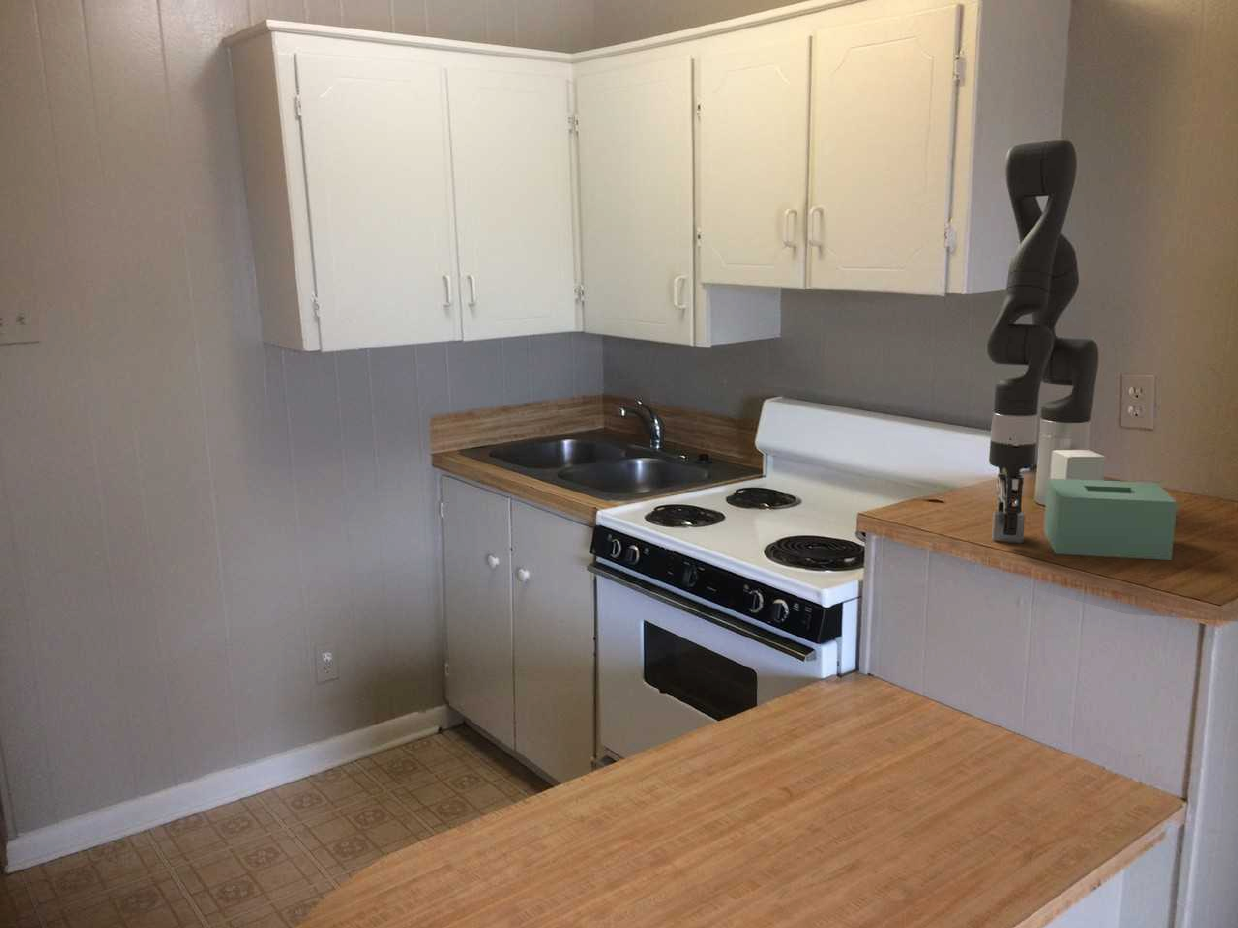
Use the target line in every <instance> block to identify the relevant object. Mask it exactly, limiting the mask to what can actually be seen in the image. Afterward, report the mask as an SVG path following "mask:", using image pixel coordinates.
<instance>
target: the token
mask: <svg viewBox="0 0 1238 928" xmlns="http://www.w3.org/2000/svg"><path fill="white" fill-rule="evenodd" d="M1025 520H1026V515H1025V513H1024V512H1023V511H1021V513H1019V514H1018V521H1017V533H1016V535H1004V533H1003V521H1004V512H1003V511H998V510H993V519H992V527H991V528H992V530H991V539H992V541H993V542H997V541H1000V542H1001V543H1015V542H1016V543H1017V544H1020V543H1021V544H1024V535H1025ZM1000 542H999V543H1000Z"/></svg>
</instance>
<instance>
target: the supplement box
mask: <svg viewBox="0 0 1238 928" xmlns="http://www.w3.org/2000/svg"><path fill="white" fill-rule="evenodd" d="M1105 462H1106V456H1105V455H1101V454H1098V453H1096V452H1094V451H1092V450H1090V449H1088V450H1055V451H1052V462H1051V477H1050V479H1073V480H1098V481H1104V476H1105V475H1104V474H1105V465H1106V463H1105Z"/></svg>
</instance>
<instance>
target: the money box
mask: <svg viewBox="0 0 1238 928" xmlns="http://www.w3.org/2000/svg"><path fill="white" fill-rule="evenodd" d="M1044 506H1045V505H1044ZM1177 511H1178V501H1177V500H1176V499H1175V498H1174V496H1172V495H1171V494H1170V493H1168V492H1167V490H1165V489H1164V488H1162V487H1161V485H1160V484H1158V483H1157V482H1147V481H1143V482H1141V481H1121V480H1120V481H1119V480H1103V481H1098V480H1073V479H1048V480H1047V493H1046V506H1045V509H1044V518H1043V519H1044V520H1043V521H1044V522H1043V533H1044V535H1045V537H1046V539H1047V540H1048V543H1049V542H1050V543H1049V545H1050V546H1051V548H1052V550H1053V551H1054V553H1055V554H1059V555H1060V554H1061V555H1072V556H1073V555H1075V556H1077V555H1079V556H1091V557H1092V556H1093V557H1109V558H1113V557H1114V558H1128V559H1129V558H1130V559H1143V560H1144V559H1145V560H1146V559H1147V560H1148V559H1149V560H1160V561H1161V560H1163V561H1164V560H1165V561H1169V560H1170V561H1172V559H1173V549H1174V548H1173V547H1174V541H1175V530H1176V522H1177V521H1176V519H1177Z"/></svg>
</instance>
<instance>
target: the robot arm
mask: <svg viewBox="0 0 1238 928" xmlns="http://www.w3.org/2000/svg"><path fill="white" fill-rule="evenodd" d="M1077 162H1078V161H1077V154H1076V149H1075V146H1074V144H1073V143H1072V141H1069V140H1067V139H1056V140H1046V141H1037V142H1028V143H1027V142H1026V143H1020V144H1016V145H1013V146H1011V148H1009V150H1008V151H1007V153H1006V156H1005V161H1004V175H1005V176H1004V177H1005V182H1006V186H1007V192H1008V196H1009V200H1010V204H1011V208H1012V211H1013V215H1014V220H1015V223H1016V228H1017V231H1018V233H1017V234H1018V237H1019V246H1018V247H1017V248H1016V250H1015V252H1014V253H1013V256H1012V257H1011V259H1010V263H1009V266H1008V272H1007V279H1006V286H1005V293H1004V298H1003V303H1002V306H1001V308H1000V312H999V314H998V315H997V319H996V321H995V322H994V324H993V326H992V328H991V331H990V334H989V337H988V339H987V343H986V350H987V355H988V357H989V359H990V360H991V361H992V362H993V363H995V364H996V365H997V364H998V365H1008V366H1009V365H1014V366H1028V367H1027V370H1026V372H1025V373H1024V374H1023V375H1020V376H1015V377H1014V376H1013V377H1007V378H1002V379H1001V380H999V381H997V383H996V385H995V390H994V391H995V392H994V393H995V394H994V406H993V407H994V408H993V415H992V422H991V427H990V429H991V430H990V442H989V443H990V444H989V456H988V457H989V458H988V462H989V464H990V465H992V466H994V467H997V468H998V469H999V472H998V474H997V477H996V478H997V486H996V494H997V500H998V510H997V511H1003V512H1004V521H1003V533H1004V535H1016V533H1017V521H1018V514H1019V513H1021V512H1023V511H1022V501H1023V487H1024V484H1025V483H1024V480H1025V479H1024V477H1023V476H1022V474H1021V470H1023V469H1031V468H1033V467H1034V466H1035V464H1036V474H1035V475H1036V476H1035V487H1034V488H1035V489H1034V500H1033V501H1034V502H1035V503H1036V504H1039V505H1041V506H1046V493H1047V480H1048V479H1050V477H1051V462H1052V451H1055V450H1089V443H1090V430H1091V420H1092V419H1091V418H1092V417H1091V416H1092V410H1093V409H1092V408H1093V405H1094V404H1093V403H1094V396H1095V395H1094V394H1095V387H1096V379H1097V374H1098V366H1099V348H1098V344H1097V343H1096V342H1095V341H1093V340H1092V339H1085V338H1067V337H1066V338H1065V337H1064V338H1061V337H1058V336H1057V332H1056V325H1057V323H1058V322H1059V319H1060V317H1061V315H1063V312H1065V309H1066V308H1067V307H1068V305H1069V304H1070V302H1072V300H1073V298H1074V296H1075V295H1076V292H1077V290H1078V288H1079V283H1080V275H1079V267H1078V259H1077V255H1076V250H1075V248H1074V247H1073V245H1072V244H1071V242H1070V241H1069V240H1068V238H1067V237H1066V236H1065V235H1064V234H1063V233H1062V230H1063V226H1064V223H1065V220H1066V217H1067V212H1068V208H1069V205H1070V200H1071V198H1072V193H1073V189H1074V186H1075V179H1076V174H1077V166H1078V165H1077V164H1078V163H1077ZM1037 197H1047V201H1046V204H1045V207H1044V209H1043V211H1042V209H1041V207H1040V205H1039V202H1038V199H1037ZM1028 315H1031V322H1032V323H1031V324H1029V323H1016V322H1017V321H1018V320H1019V319H1020V318H1021V317H1023V316H1024V317H1025V316H1028ZM1041 383H1045V384H1050V385H1056V386H1057V385H1058V386H1072V389H1071V392H1070V393H1069V395H1067V396H1065V397H1064V398H1060V399H1057V400H1052V401H1048V402H1045V403H1043V404H1042V405H1041V409H1040V419H1039V431H1038V418H1037V417H1038V405H1039V394H1040V388H1041ZM1038 433H1039V436H1038ZM1037 436H1038V437H1037ZM1037 439H1038V446H1037ZM1037 447H1038V448H1037ZM1036 451H1037V460H1036ZM1036 461H1037V463H1036ZM1013 504H1015V505H1013Z"/></svg>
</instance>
